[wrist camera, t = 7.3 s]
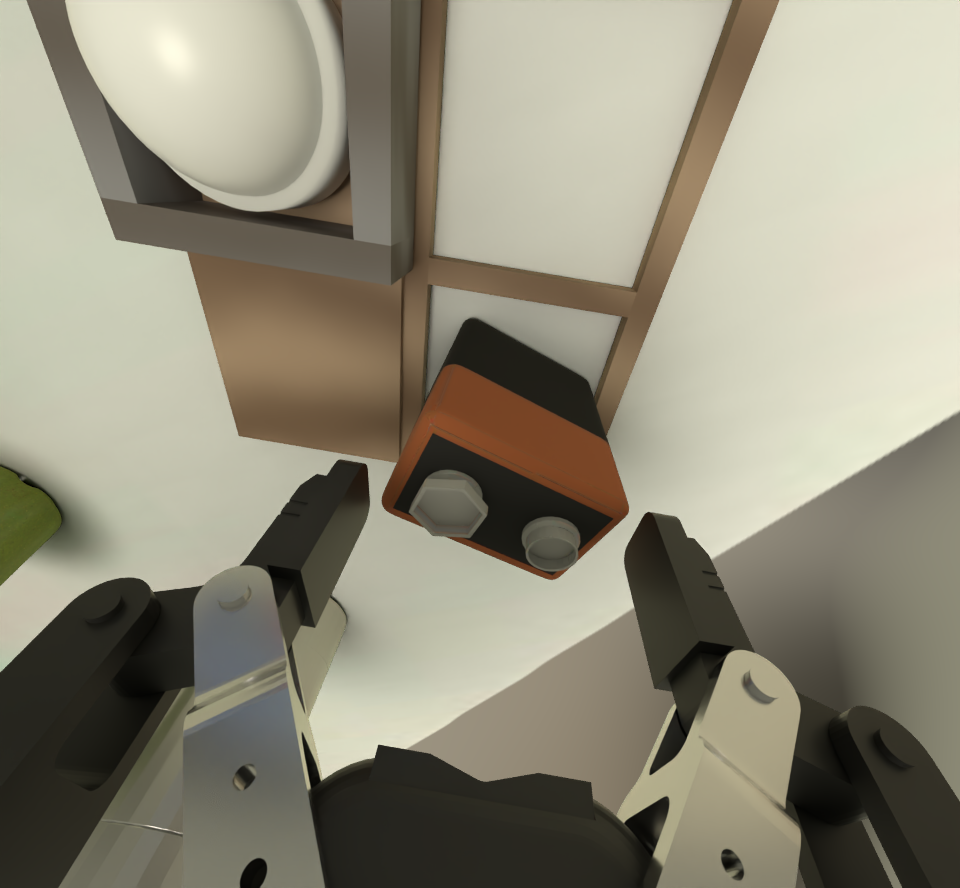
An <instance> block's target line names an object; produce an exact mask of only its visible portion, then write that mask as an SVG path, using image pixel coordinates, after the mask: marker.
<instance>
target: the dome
mask: <svg viewBox="0 0 960 888" xmlns="http://www.w3.org/2000/svg"><path fill="white" fill-rule="evenodd" d="M65 3H66V8H67V13H68V18H69V21H70V25H71V28H72V31H73V35H74V37H75V40H76V43H77V45H78V48H79V51H80V53H81V55H82V57H83V59H84V61H85V64H86V66H87V68H88V70H89V72H90V73H91V75H92V77H93V79H94V81H95V82H96V84H97V86H98V88H99V89H100V91H101V93H102V94H103V96H104V97H105V99H106V100H107V102H108V103H109V105H110V106H111V107H112V109H113V110H114V111H115V113H116V114H117V115H118V117H119V118H120V119H121V120H122V121H123V122H124V123H125V125H126V126H127V127H128V128H129V129H130V130H131V131H132V132H133V134H134V135H135V136H136V137H137V138H138V139H139V140H140V141H141V142H142V143H143V144H144V145H145V146H146V147H147V148H148V149H150V150H151V151H152V152H153V153H155V154H156V155H157V156H158V157H159V158H161V159H162V160H163V161H164V162H165V163H166V164H167V165H168V166H170V167H171V168H172V169H173V170H174V171H175V172H176V173H177V174H178V175H179V176H180V177H181V178H183V179H184V180H185V181H186V182H187V183H189V184H190V185H191V186H193V187H194V188H196V189H197V190H199V191H200V192H202V193H203V194H204V195H206V196H208V197H210V198H212V199H214V200H216V201H218V202H220V203H222V204H225V205H228V206H230V207H233V208H237V209H241V210H245V211H256V212H261V211H274V210H284V209H294V208H303V207H307V206H311V205H314V204H316V203H318V202H320V201H322V200H324V199H325V198H327V197H328V196H330V195H331V194H332V193H333V192H334V191H335V190H336V189H337V188H338V187H339V186H340V185H341V184H342V182H343V181H344V180H345V178H346V177H347V175H348V173H349V171H350V158H349V139H348V119H347V99H346V80H345V60H344V41H343V21H342V18H341V16H340V14H339V12H338V10H337V8H336V6H335V4H334V3H333V1H332V0H65Z"/></svg>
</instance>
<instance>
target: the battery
mask: <svg viewBox="0 0 960 888" xmlns="http://www.w3.org/2000/svg"><path fill="white" fill-rule="evenodd" d="M382 505H383V507H384V509H385V510H386V511H387V512H389V513H391V514H393V515H395V516H398V517H400V518H402V519H405V520H407V521H409V522H412V523H414V524H416V525H419V526H421V527H424V528H425V529H426V530H427V531H428V532H429V533H430V534H431V535H432V536H445V537H447V538H450V539H452V540H455V541H457V542H459V543H462V544H464V545H466V546H469V547H471V548H474V549H476V550H478V551H481V552H483V553H485V554H488V555H490V556H493V557H495V558H497V559H500V560H502V561H505V562H507V563H509V564H512V565H514V566H516V567H519V568H521V569H524V570H526V571H528V572H531V573H533V574H536V575H538V576H541V577H543V578H546V579H550V580H554V579H557V578H558V577H560V576H561V575H562V574H563V573H564V572H566V571H567V570H568V569H569V568H570V567H571V566H573V565H574V564H575V563H576V561H578V560H579V559H580V558H581V557H582V556H583V555H584V554H585V553H586V552H587V551H589V550H590V549H591V548H592V547H593V546H594V545H595V544H596V543H597V542H598V541H600V540H601V539H602V538H603V537H604V536H605V535H606V534H607V533H608V532H609V531H610V530H612V529H613V528H614V527H615V526H616V525H617V524H618V523H619V522H620V521H621V520H622V519H624V518H625V517H626V515H627V514H628V512H629V505H628V501H627V498H626V495H625V492H624V489H623V486H622V483H621V480H620V477H619V474H618V471H617V468H616V465H615V461H614V458H613V455H612V452H611V449H610V446H609V443H608V440H607V437H606V434H605V431H604V428H603V425H602V422H601V419H600V416H599V412H598V409H597V406H596V403H595V400H594V397H593V394H592V391H591V388H590V385H589V383H588V381H587V380H586V379H584V378H583V377H581V376H579V375H577V374H576V373H574V372H572V371H570V370H568V369H567V368H565V367H563V366H561V365H559V364H557V363H556V362H554V361H552V360H550V359H548V358H547V357H545V356H543V355H541V354H539V353H537V352H536V351H534V350H532V349H530V348H528V347H526V346H525V345H523V344H521V343H519V342H517V341H516V340H514V339H512V338H510V337H508V336H506V335H505V334H503V333H501V332H499V331H497V330H496V329H494V328H492V327H490V326H488V325H486V324H484V323H483V322H481V321H479V320H477V319H468V320H466V321H465V322H464V323H463V325H462V327H461V328H460V330H459V333H458V335H457V337H456V339H455V341H454V343H453V345H452V347H451V349H450V351H449V353H448V355H447V357H446V359H445V361H444V363H443V365H442V367H441V370H440V372H439V374H438V376H437V378H436V380H435V382H434V384H433V386H432V388H431V390H430V393H429V395H428V397H427V399H426V401H425V403H424V406H423V408H422V410H421V412H420V414H419V416H418V419H417V421H416V423H415V425H414V427H413V429H412V432H411V434H410V436H409V438H408V440H407V443H406V445H405V447H404V449H403V451H402V453H401V456H400V458H399V460H398V462H397V464H396V466H395V469H394V471H393V473H392V475H391V477H390V479H389V482H388V484H387V486H386V488H385V490H384V493H383V496H382Z"/></svg>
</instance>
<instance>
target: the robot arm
mask: <svg viewBox="0 0 960 888" xmlns="http://www.w3.org/2000/svg"><path fill="white" fill-rule="evenodd" d="M369 506H370V497H369V482H368V468H367V465H366V464H364V463H358V462H352V461H346V460H338V461H337V462H336V463H335V464H334V466H333V467H332V469H331V470H330V472H329V473H328V475H327V476H324V475H318V474H316V475H315V476H313V477H312V478H310V479H309V480H307V481H306V482H305V483H303V484H302V485H300V486H299V488H298V489H297V490H296V492H295V493H294V495H293V496H292V497H291V499H290V501H289V503H287V504H286V505H285V507H284V508H283V509H282V511H281V514H280V515H278V516H277V517H276V519H275V520H274V521H273V523H272V524H271V526H270V527H269V528H268V530H267V531H266V532H265V534H264V535H263V536H262V538H261V539H260V540H259V542H258V543H257V544H256V546H255V547H254V548H253V550H252V551H251V552H250V554H249V555H248V557H247V558H246V559H245V560H244V562H243V563H242V564H241V565H240V566H238V567H234V568H230V569H228V570H225V571H223V572H221V573H219V574H218V575H216V576H215V577H213V578H212V579H210V580H209V581H208V582H207V583H206V584H205V585H203V586H198V587H191V588H183V589H174V590H166V591H158V592H153V591H152V590H151V589H150V587H149V586H148V584H147V583H146V582H144V581H143V580H140V579H137V578H119V579H114V580H110V581H107V582H104V583H102V584H99V585H97V586H95V587H93V588H91V589H89V590H87V591H86V592H84V593H82V594H81V595H80V596H78V597H77V598H76V599H74V600H73V601H72V602H71V603H70V604H69V605H68V606H67V607H66V608H65V609H64V610H63V611H62V612H61V613H60V614H59V615H58V616H57V617H56V618H55V619H54V620H53V621H52V622H51V623H50V624H48V625H47V626H46V627H45V628H44V629H43V630H42V631H41V632H40V633H39V634H38V635H37V636H36V637H35V638H34V639H33V640H32V641H31V642H30V643H29V644H28V645H27V646H26V647H25V648H24V649H23V650H22V651H21V652H20V653H19V654H18V655H17V656H16V657H15V658H14V659H13V660H12V661H11V662H10V663H9V664H8V665H7V666H6V667H5V668H4V669H3V670H2V671H1V672H0V888H795V885H796V877H797V870H798V866H799V869H800V872H801V875H802V878H803V881H804V883H805V886H806V888H893V887H892V885H891V882H890V881H889V878H888V876H887V874H886V872H885V870H884V868H883V866H882V863H881V862H880V859H879V857H878V855H877V853H876V851H875V849H874V847H873V845H872V842H871V840H870V838H869V836H868V834H867V832H866V830H865V828H864V826H863V823H862V821H861V820H864V819H867V818H869V820H870V822H871V824H872V826H873V828H874V830H875V832H876V834H877V836H878V838H879V840H880V842H881V844H882V847H883V848H884V851H885V853H886V855H887V857H888V859H889V861H890V863H891V865H892V867H893V869H894V871H895V873H896V875H897V877H898V879H899V882H900V884H901V886H902V888H960V801H959V800H958V798H957V797H956V795H955V793H954V792H953V790H952V789H951V787H950V786H949V784H948V783H947V781H946V780H945V778H944V776H943V775H942V773H941V772H940V770H939V769H938V767H937V766H936V764H935V763H934V761H933V759H932V758H931V757H930V755H929V754H928V753H927V751H926V750H925V748H924V747H923V746H922V745H921V744H920V742H919V741H918V740H917V739H916V738H915V737H914V736H913V735H912V734H911V733H910V732H909V731H908V730H906V729H905V728H904V727H903V726H902V725H900V724H899V723H898V722H897V721H895V720H894V719H892V718H891V717H889V716H888V715H886V714H884V713H882V712H880V711H878V710H876V709H873V708H870V707H866V706H856V707H853V708H851V709H849V710H847V711H846V712H844V713H840V712H838V711H835V710H833V709H831V708H829V707H827V706H825V705H823V704H821V703H819V702H816V701H814V700H812V699H810V698H808V697H806V696H804V695H802V694H800V693H798V692H796V691H795V690H794V688H793V686H792V685H791V683H790V682H789V681H788V679H787V678H786V677H785V676H784V674H783V673H781V671H780V670H779V669H778V668H777V667H776V666H774V665H773V664H772V663H770V662H769V661H768V660H766V659H765V658H763V657H762V656H760V655H757V654H756V653H755V651H754V649H753V648H752V645H751V643H750V641H749V639H748V637H747V635H746V633H745V631H744V629H743V627H742V624H741V623H740V620H739V618H738V616H737V614H736V612H735V610H734V607H733V605H732V603H731V601H730V599H729V597H728V595H727V593H726V592H724V586H723V584H722V582H721V580H720V578H719V577H718V576H717V571H716V569H715V567H714V565H713V563H712V561H711V559H710V557H709V555H708V554H707V553H706V551H705V550H704V549H703V548H702V547H701V546H700V545H699V544H698V542H697V541H696V540H695V539H694V538H688V537H687V536H686V533H685V531H684V529H683V527H682V524H681V522H680V520H679V519H678V518H677V517H675V516H669V515H663V514H657V513H651V512H647V513H646V514H645V515H644V516H643V518H642V520H641V521H640V523H639V525H638V527H637V529H636V531H635V532H634V534H633V536H632V538H631V540H630V541H629V543H628V545H627V547H626V551H625V557H624V565H625V570H626V574H627V578H628V582H629V587H630V591H631V595H632V599H633V603H634V607H635V611H636V615H637V619H638V624H639V627H640V631H641V636H642V640H643V643H644V648H645V652H646V656H647V661H648V665H649V668H650V673H651V677H652V681H653V685H654V688H655V689H660V690H666V691H672V692H673V696H674V700H675V704H674V705H673V706H672V707H671V709H670V711H669V713H668V716H667V718H666V720H665V723H664V725H663V727H662V729H661V731H660V734H659V736H658V738H657V740H656V743H655V745H654V747H653V750H652V752H651V754H650V756H649V758H648V761H647V763H646V765H645V768H644V770H643V772H642V774H641V776H640V778H639V780H638V781H637V783H636V784H635V786H634V787H633V788H632V790H631V791H630V792H629V794H628V795H627V797H626V799H625V801H624V802H623V804H622V806H621V808H620V809H619V811H618V814H617V816H615V815H614V814H613V813H612V812H611V811H610V810H609V809H607V808H606V807H604V806H603V805H602V804H600V803H599V802H597V801H596V800H594V799H593V796H592V787H591V782H586V781H581V780H574V779H569V778H563V777H558V776H552V775H547V774H541V773H536V774H530V775H524V776H518V777H513V778H507V779H501V780H495V781H489V782H483V781H480V780H477V779H475V778H473V777H472V776H470V775H468V774H466V773H464V772H463V771H461V770H459V769H457V768H455V767H453V766H451V765H450V764H448V763H446V762H444V761H442V760H441V759H439V758H437V757H435V756H433V755H431V754H428V753H422V752H417V751H411V750H406V749H400V748H395V747H389V746H383V745H378V748H377V752H376V755H375V758H372V759H366V760H362V761H359V762H356V763H353V764H350V765H348V766H346V767H344V768H342V769H340V770H338V771H336V772H335V773H333V774H331V775H330V776H328V777H327V778H325V779H324V780H323V778H322V773H321V768H320V764H319V759H318V754H317V750H316V746H315V742H314V738H313V734H312V730H311V727H310V723H309V716H310V713H311V711H312V709H313V706H314V704H315V701H316V699H317V696H318V694H319V691H320V689H321V686H322V684H323V681H324V679H325V677H326V675H327V672H328V670H329V667H330V665H331V662H332V660H333V657H334V655H335V652H336V650H337V648H338V645H339V643H340V640H341V638H342V635H343V633H344V630H345V627H346V624H347V621H346V616H345V614H344V612H343V610H342V609H341V608H340V606H339V605H338V604H337V603H336V602H335V601H334V600H332V599H331V598H330V596H331V594H332V592H333V590H334V588H335V586H336V584H337V581H338V579H339V577H340V575H341V573H342V571H343V569H344V567H345V565H346V562H347V560H348V558H349V556H350V554H351V552H352V550H353V548H354V546H355V543H356V541H357V539H358V537H359V535H360V533H361V531H362V529H363V527H364V524H365V522H366V520H367V516H368V512H369Z"/></svg>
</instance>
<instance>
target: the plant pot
mask: <svg viewBox="0 0 960 888" xmlns="http://www.w3.org/2000/svg"><path fill="white" fill-rule="evenodd" d="M60 525H61V515H60V513H59V511H58V509H57V507H56V506H55V504H54V502H53V501H52V500H51V499H50V498H49V496H48V495H47V494H45V493H44V492H42V491H41V490H40V489H38V488H34V487H31V486H28V485H26V484H25V483H23V482H22V481H21V480H20V479H19V478H18V476H17V474H15V473H13V472H12V471H10V470H8V469H6V468H3V467H1V466H0V586H1V585H2V584H3V583H4V582H5V581H6V580H7V579H8V578H9V577H10V576H11V575H12V574H13V573H14V572H15V571H16V570H17V569H18V568H19V567H20V566H21V565H22V564H23V563H24V562H25V561H26V560H27V559H28V558H29V557H30V556H31V555H32V554H34V553H35V552H36V551H37V550H38V549H39V548H40V547H41V546H42V545H43V544H44V543H45V542H46V541H47V540H48V539H49V538H50V537H51V536H52V535H53V534H54V533H55V532H56V531H57V529H58V528H59V527H60Z"/></svg>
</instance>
